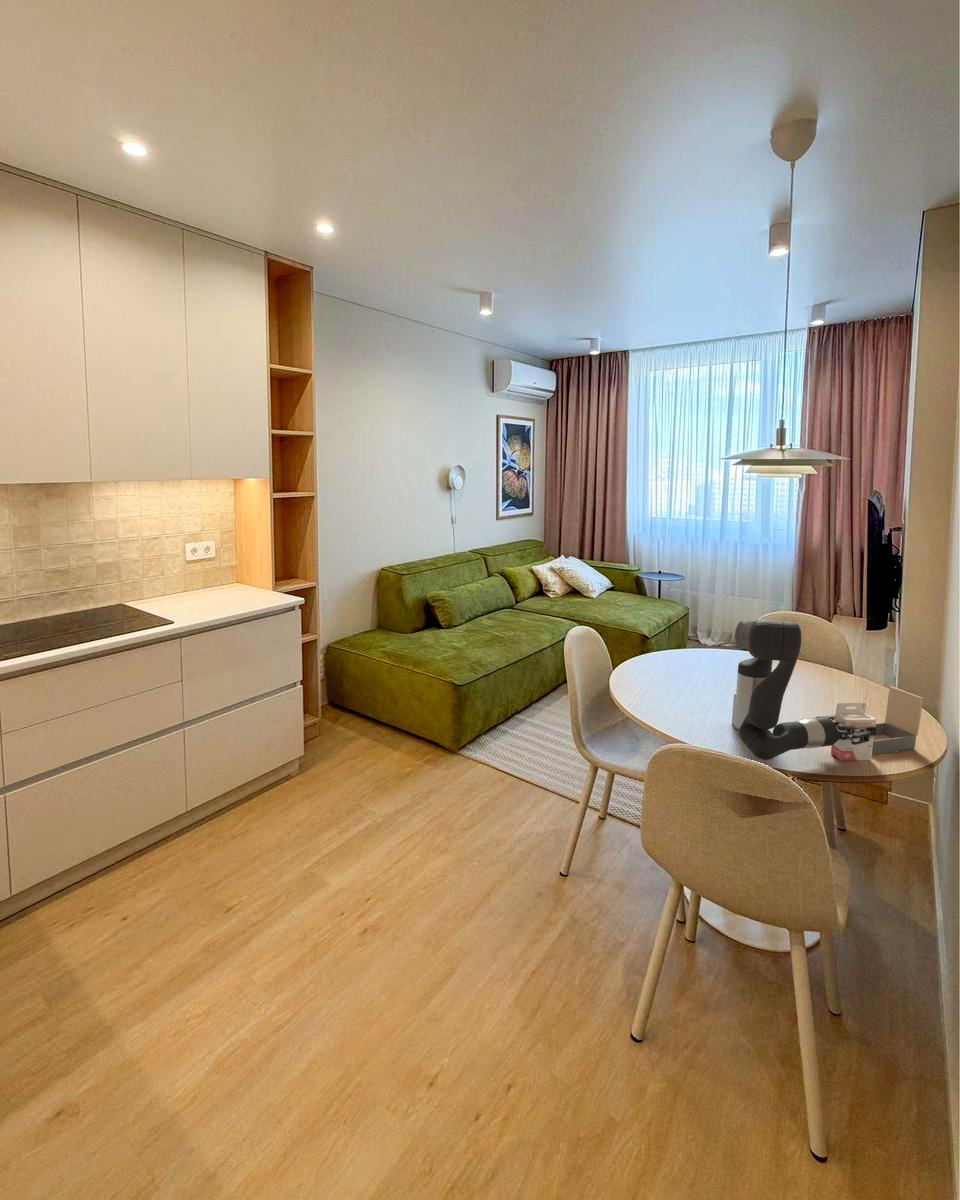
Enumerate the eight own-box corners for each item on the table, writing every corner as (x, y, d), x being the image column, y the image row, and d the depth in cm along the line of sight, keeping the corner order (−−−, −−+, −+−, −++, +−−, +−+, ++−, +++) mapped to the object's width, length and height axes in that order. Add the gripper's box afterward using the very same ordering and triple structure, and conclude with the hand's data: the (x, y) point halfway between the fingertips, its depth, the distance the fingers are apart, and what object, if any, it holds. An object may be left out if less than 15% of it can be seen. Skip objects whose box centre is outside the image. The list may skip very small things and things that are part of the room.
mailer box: (844, 740, 180) (849, 690, 177) (885, 735, 184) (891, 686, 181) (873, 755, 171) (880, 702, 168) (916, 749, 174) (923, 697, 171)
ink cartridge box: (841, 761, 167) (846, 708, 164) (830, 753, 172) (835, 702, 169) (872, 760, 167) (878, 708, 164) (860, 753, 172) (866, 701, 169)
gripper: (836, 730, 157) (890, 723, 161) (794, 709, 170) (845, 703, 174) (833, 757, 158) (887, 750, 162) (791, 735, 172) (842, 729, 176)
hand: (865, 726), depth 168 cm, fingers closed on ink cartridge box, 5 cm apart
